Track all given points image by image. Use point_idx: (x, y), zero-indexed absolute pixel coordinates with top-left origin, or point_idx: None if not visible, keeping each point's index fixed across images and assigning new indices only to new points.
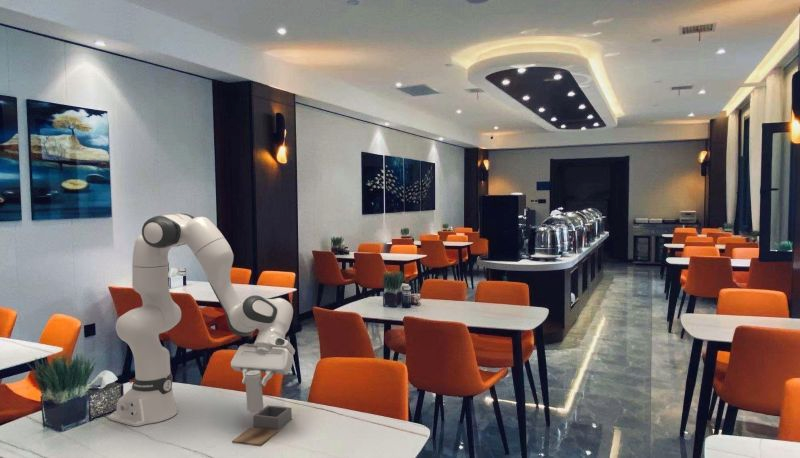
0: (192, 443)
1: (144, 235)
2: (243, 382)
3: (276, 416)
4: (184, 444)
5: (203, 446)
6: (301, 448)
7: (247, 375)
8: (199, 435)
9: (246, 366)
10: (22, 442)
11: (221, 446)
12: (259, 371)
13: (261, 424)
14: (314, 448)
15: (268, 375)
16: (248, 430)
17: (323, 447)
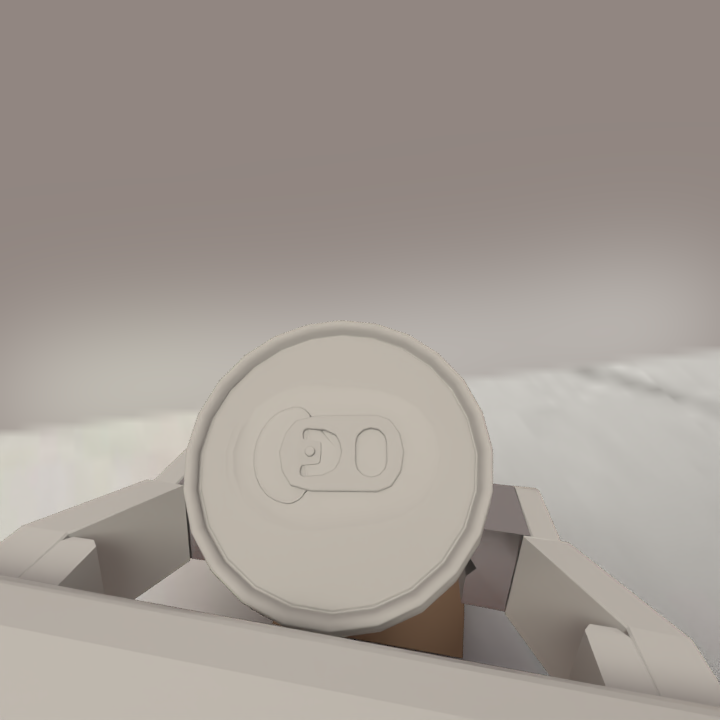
0: (662, 434)
1: None
2: (507, 486)
3: None
4: (692, 420)
5: (582, 412)
6: (121, 446)
7: (389, 335)
8: (706, 528)
9: (674, 713)
10: None
11: (496, 422)
12: (225, 560)
13: None
14: (63, 453)
15: (66, 523)
16: (448, 600)
17: (23, 467)
